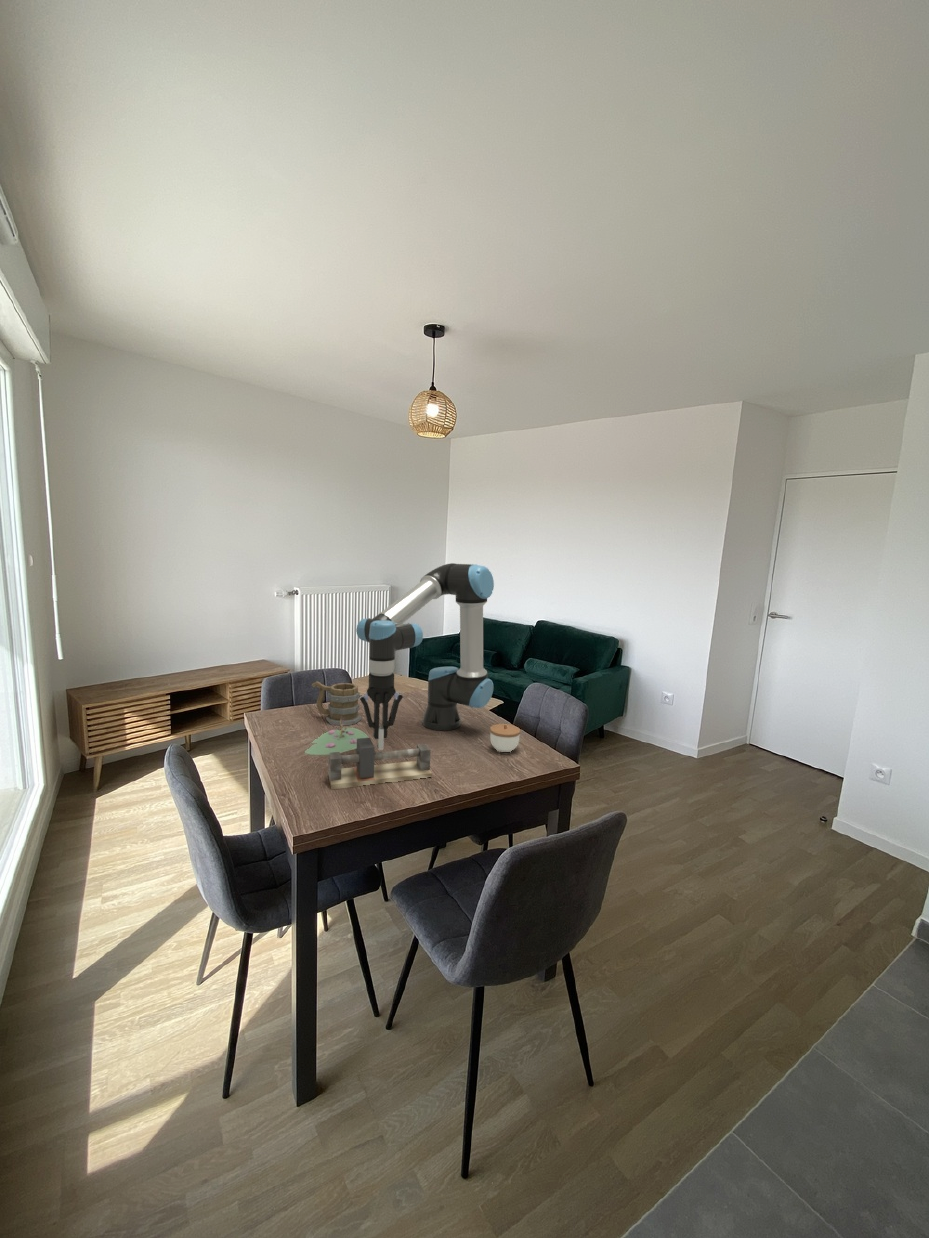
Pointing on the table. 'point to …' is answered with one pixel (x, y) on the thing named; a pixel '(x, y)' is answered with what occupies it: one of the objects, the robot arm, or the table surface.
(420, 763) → the grey sliding block rail
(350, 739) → the plant
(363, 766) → the collar
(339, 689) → the tankard
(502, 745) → the lidded jar
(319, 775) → the table surface
